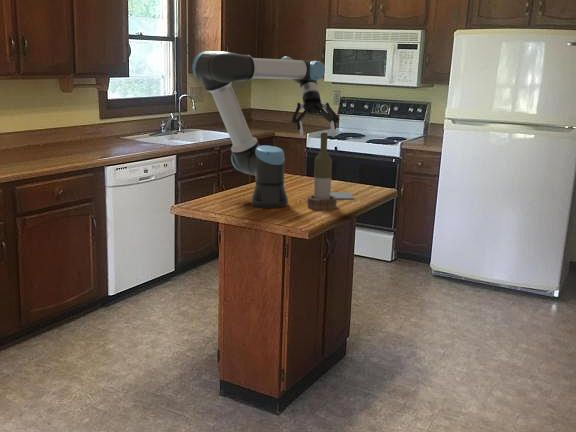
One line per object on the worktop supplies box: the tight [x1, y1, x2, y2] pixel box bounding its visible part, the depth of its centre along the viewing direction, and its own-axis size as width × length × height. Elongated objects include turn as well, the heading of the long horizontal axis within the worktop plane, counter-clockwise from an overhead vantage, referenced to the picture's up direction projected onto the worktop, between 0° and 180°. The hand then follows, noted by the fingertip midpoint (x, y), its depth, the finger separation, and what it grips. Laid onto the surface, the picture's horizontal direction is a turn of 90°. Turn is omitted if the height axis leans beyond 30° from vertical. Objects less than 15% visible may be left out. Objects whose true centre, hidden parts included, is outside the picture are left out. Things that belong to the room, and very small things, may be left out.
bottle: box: [313, 132, 333, 200], centre depth 257 cm, size 7×7×30 cm
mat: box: [330, 191, 355, 201], centre depth 281 cm, size 12×12×1 cm
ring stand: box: [307, 194, 338, 211], centre depth 260 cm, size 11×11×4 cm
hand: (318, 135), depth 264 cm, fingers open, 13 cm apart
